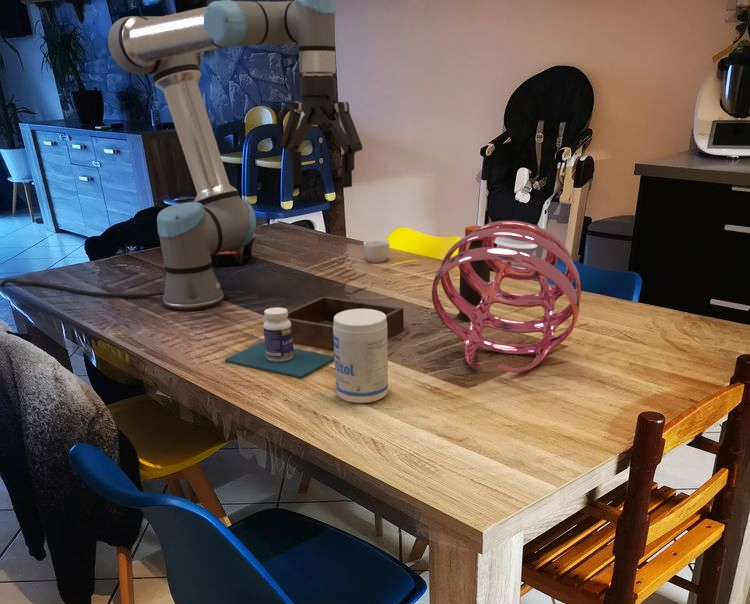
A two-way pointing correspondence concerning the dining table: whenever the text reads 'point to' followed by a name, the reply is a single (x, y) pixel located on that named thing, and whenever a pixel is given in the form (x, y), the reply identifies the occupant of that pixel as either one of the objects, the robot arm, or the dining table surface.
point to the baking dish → (232, 255)
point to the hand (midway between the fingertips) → (321, 185)
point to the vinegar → (480, 269)
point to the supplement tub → (361, 355)
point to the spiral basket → (492, 293)
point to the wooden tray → (327, 308)
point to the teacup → (376, 250)
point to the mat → (294, 367)
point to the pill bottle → (278, 335)
